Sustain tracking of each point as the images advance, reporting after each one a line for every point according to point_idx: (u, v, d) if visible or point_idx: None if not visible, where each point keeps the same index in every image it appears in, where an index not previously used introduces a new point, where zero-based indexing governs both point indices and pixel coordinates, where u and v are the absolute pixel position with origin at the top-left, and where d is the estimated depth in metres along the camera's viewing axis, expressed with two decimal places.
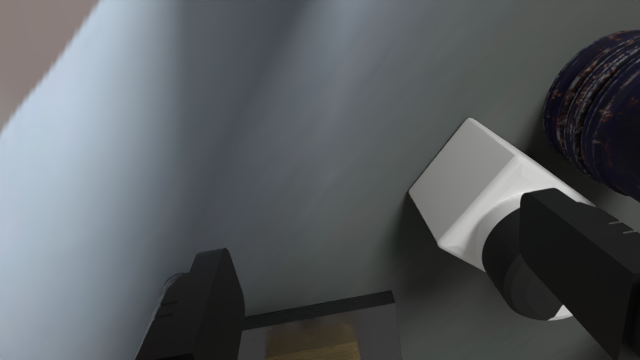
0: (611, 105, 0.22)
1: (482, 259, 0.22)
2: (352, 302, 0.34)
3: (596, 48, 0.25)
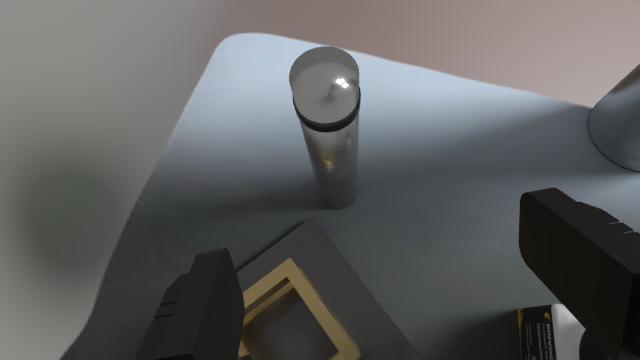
0: None
1: None
2: None
3: None
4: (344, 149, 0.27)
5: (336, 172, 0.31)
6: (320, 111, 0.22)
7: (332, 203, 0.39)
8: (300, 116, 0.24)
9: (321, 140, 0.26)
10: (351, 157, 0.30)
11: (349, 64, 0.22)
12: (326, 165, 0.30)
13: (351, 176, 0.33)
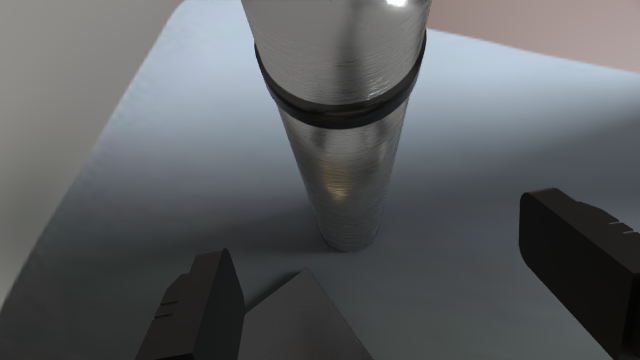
0: None
1: None
2: None
3: None
4: (373, 167, 0.13)
5: (352, 207, 0.16)
6: (324, 67, 0.08)
7: (339, 245, 0.24)
8: (272, 88, 0.09)
9: (325, 148, 0.11)
10: (383, 180, 0.15)
11: None
12: (334, 196, 0.15)
13: (376, 210, 0.19)
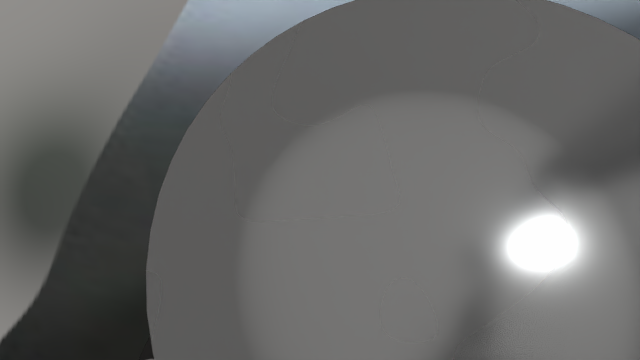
0: None
1: None
2: None
3: None
4: None
5: None
6: None
7: None
8: None
9: None
10: None
11: None
12: None
13: None
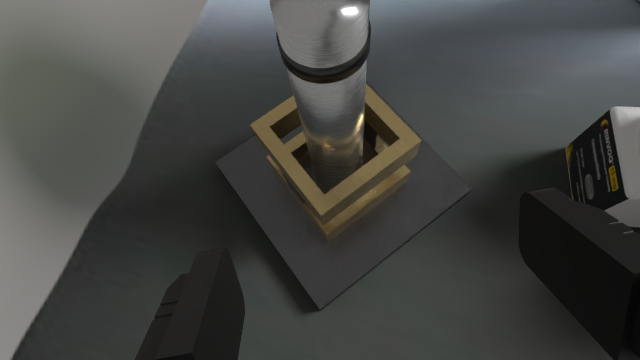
0: None
1: None
2: None
3: None
4: (347, 113, 0.21)
5: (336, 147, 0.24)
6: (314, 47, 0.16)
7: None
8: (287, 60, 0.17)
9: (316, 98, 0.19)
10: (356, 127, 0.23)
11: None
12: (324, 137, 0.23)
13: (355, 154, 0.27)
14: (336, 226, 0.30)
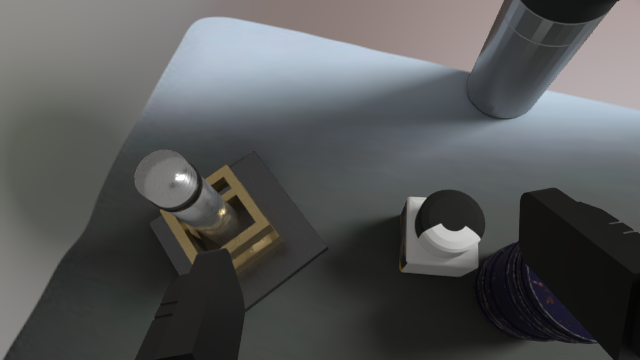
0: None
1: None
2: None
3: None
4: (201, 219, 0.34)
5: (207, 231, 0.38)
6: (157, 201, 0.29)
7: None
8: (151, 200, 0.31)
9: (175, 215, 0.32)
10: (215, 221, 0.36)
11: (180, 165, 0.29)
12: (195, 228, 0.36)
13: (227, 231, 0.40)
14: None
